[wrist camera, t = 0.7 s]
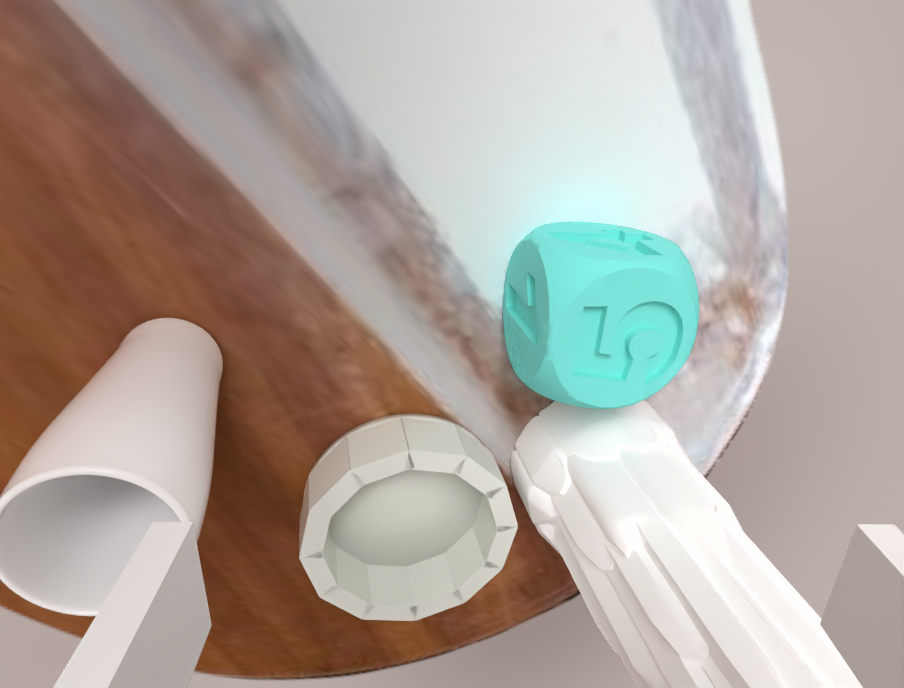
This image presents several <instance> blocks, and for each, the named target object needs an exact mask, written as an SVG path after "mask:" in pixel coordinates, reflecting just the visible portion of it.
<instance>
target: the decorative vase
mask: <svg viewBox="0 0 904 688" xmlns="http://www.w3.org/2000/svg"><path fill="white" fill-rule="evenodd" d="M515 448H516V450H515V451H513V452H512V455H511V461H510V462H511V471H512V476H513V481H514V484H515V486H516V489H517V491H518V493H519V495H520V497H521V499H522V501H523V503H524V506H525V508H526V510H527V512H528V514H529V516H530V518H531V520H532V522H533V524H535V527H536V529H537V531H538V533H539V534H540V535H541V536H542V537H543V538H544V539H545V540H546V541H547V542H548V543H549V544H550V545H551V546H552V547H554V549H555V550H556V551H557V552H558V553H559V554H560V555H561V556H562V557H563V559H564V561H565V563H566V565H567V567H568V569H569V571H570V573H571V575H572V577H573V579H574V581H575V583H576V585H577V587H578V589H579V591H580V593H581V595H582V597H583V599H584V601H585V603H586V605H587V607H588V609H589V611H590V613H591V615H592V617H593V619H594V621H595V623H596V625H597V626H598V628H599V630H600V631H601V632H602V634H603V636H604V637H605V639H606V640H607V642H608V643H609V645H610V646H611V648H612V649H613V651H614V652H615V653H617V654H619V656H620V658H621V660H622V662H623V664H624V666H625V668H626V670H627V672H628V674H629V676H630V678H631V679H632V681H633V683H634V685H635V687H636V688H863V687H862V686H861V684H860V683H859V681H858V680H857V678H856V677H855V675H854V674H853V672H852V671H851V669H850V668H849V666H848V665H847V663H846V662H845V660H844V659H843V658H842V656H841V655H840V653H839V652H838V650H837V649H836V647H835V646H834V644H833V643H832V641H831V640H830V638H829V637H828V635H827V634H826V632H825V631H824V629H823V628H822V627H821V625H820V622H821V620H822V619H821V618H820V617H819V616H818V615H817V614H816V612H814V610H813V609H812V608H811V607H810V606H809V604H808V603H807V602H806V601H805V600H804V599H803V598H802V597H801V595H800V594H799V593H798V592H797V591H796V590H795V589H794V588H793V587H792V585H791V584H790V583H789V582H788V581H787V580H786V579H785V578H784V577H783V576H782V574H781V573H780V572H779V571H778V570H777V569H776V568H775V567H774V565H773V564H772V563H771V562H770V561H769V560H768V559H767V558H766V557H765V555H764V554H763V553H762V552H761V551H760V550H759V549H758V547H757V546H756V545H755V544H754V543H753V542H752V541H751V540H750V539H749V538H748V536H747V535H746V534H745V533H744V532H743V530H742V528H741V526H740V524H739V522H738V520H737V518H736V516H735V514H734V512H733V510H732V509H731V507H730V505H729V504H728V503H727V502H726V501H725V499H724V498H722V496H721V495H720V494H719V493H718V492H717V491H716V490H715V489H714V487H713V486H712V485H711V484H710V483H709V482H708V481H707V480H706V479H705V478H704V477H703V475H702V474H701V473H700V472H699V471H698V470H697V469H696V468H695V467H694V466H693V464H692V462H691V460H690V458H689V457H688V455H687V453H686V452H685V450H684V449H683V447H682V445H681V444H680V442H679V440H678V438H677V436H676V434H675V432H674V431H673V429H672V428H671V427H670V426H669V425H668V424H667V423H666V422H665V421H664V420H663V419H662V418H661V417H660V416H659V415H658V414H657V412H656V411H655V410H654V409H653V408H652V407H651V406H650V405H649V404H648V403H647V402H646V401H645V400H642V401H640V402H638V403H636V404H634V405H631V406H627V407H622V408H615V409H592V408H583V407H577V406H572V405H568V404H564V403H561V402H557V401H554V402H553V403H552V404H550V405H549V406H547V407H546V408H544V409H543V410H541V411H540V412H539V416H535V417H533V418H532V419H531V420H530V421H529V422H528V423H527V425H526V426H525V428H524V429H523V431H522V433H521V434H520V436H519V437H518V439H517V441H516V442H515Z"/></svg>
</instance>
